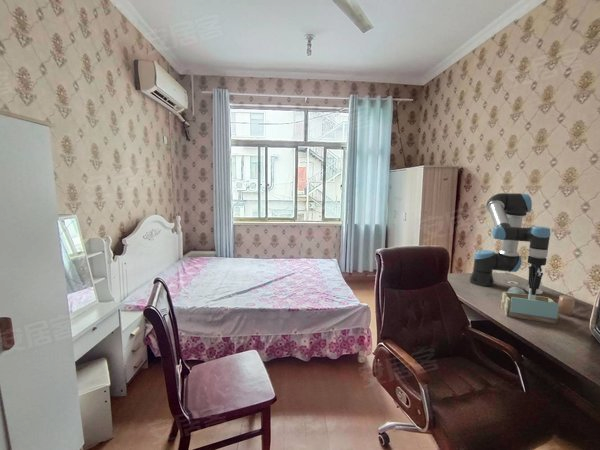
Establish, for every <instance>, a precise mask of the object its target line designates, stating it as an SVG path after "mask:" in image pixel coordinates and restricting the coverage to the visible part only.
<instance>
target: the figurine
mask: <svg viewBox="0 0 600 450" xmlns="http://www.w3.org/2000/svg"><path fill="white" fill-rule="evenodd" d="M528 282H529V279H528V280H526V283H527V284H526V286H527V287H526V288H525V291H526V292H528V293H529V284H528ZM543 287H544V284H543V282H542V281H541V282H540V286H539V289H537V292H536V295H542V294H543V291H542V290H541V289H542V288H543Z"/></svg>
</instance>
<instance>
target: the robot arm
mask: <svg viewBox="0 0 600 450" xmlns="http://www.w3.org/2000/svg"><path fill="white" fill-rule="evenodd" d="M532 202H533V201H532V198H531V196H530V195H529V194H528V193H515V192H514V193H512V192H511V193H505V192H504V193H503V192H502V193H501V192H500V193H497V194H494V195H492V196H491V197H490V198H488V200H487V202H486V210H487V212H488V213H490V216H491V219H492V222H493V226H494V227H493V228H492V234H491V235H492V237H493V238H492V239H494V240H500V241H502V244H501V248H500V249H499V250H498V253H496V252H495V251H494V250H487V249H485V250H483V249H482V250H477V251H476V252H475V253H474V258H473V259H474V261H473V269H472V272H471V275H470V277H469V280H468V281H469V282H470V283H471V284H473V285H475V286H480V287H481V286H482V287H494V286H495V278H494V276H493V272H494V271H501V272H508V273H516V272H518V271H519V270H520V268H521V267H522V256H520V253H519V252H518V247H519V242H525V243H526V242H527V243H528V242H529V247H528V249H527V252H528V256H527V263H528V264H530V266H528V280H529V282H527V284H529V292H528V295H529V296H528V299H530V300H535V299H536V296H537V294H536V292H537V289H539V286H540V282H542V277H543V275H544V273H543V272H542V271H543V268H542V266H546V265H547V257H548V254H549V253H548V252H549V244H550V237H551V228H549V227H546V226H538V225H536V226H533V227H532V226H531V227H522V225H523V221H524V220H523V219H524V218H525V217H526V216H527V213H530V212H531V210H532V209H533V208H532V207H533V206H532V205H533V203H532Z"/></svg>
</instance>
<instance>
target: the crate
mask: <svg viewBox="0 0 600 450" xmlns="http://www.w3.org/2000/svg"><path fill="white" fill-rule="evenodd" d="M528 296H529V294H527V293H526V294H519V293H511V292H508V291H501V296H500V306H499V307H501V309H502V311H503V313H504V315H505V316H506V317H511V318H517V319H523V320H530V321H536V322H542V323H549V324H555V325H558V324H559V318H560V307H559V306H558V314H557V320H553V319H546V318H539V317H533V316H526V315H520V314H513V313H510V307H511V297H516V298H523V299H528ZM535 300H538V301H545V302H553V303H556V302H555V301H554V300H553V299H552V298H551V297H549V296H541V295H536V299H535Z"/></svg>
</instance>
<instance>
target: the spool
mask: <svg viewBox="0 0 600 450" xmlns="http://www.w3.org/2000/svg"><path fill="white" fill-rule="evenodd" d="M507 292H511V293H519V294H527V293H526V292H525V290H524V289H522V288H520V287H518V286H512V287H510V288H508V290H507Z"/></svg>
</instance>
